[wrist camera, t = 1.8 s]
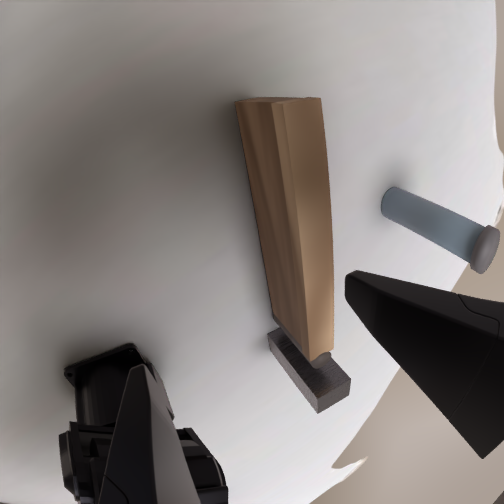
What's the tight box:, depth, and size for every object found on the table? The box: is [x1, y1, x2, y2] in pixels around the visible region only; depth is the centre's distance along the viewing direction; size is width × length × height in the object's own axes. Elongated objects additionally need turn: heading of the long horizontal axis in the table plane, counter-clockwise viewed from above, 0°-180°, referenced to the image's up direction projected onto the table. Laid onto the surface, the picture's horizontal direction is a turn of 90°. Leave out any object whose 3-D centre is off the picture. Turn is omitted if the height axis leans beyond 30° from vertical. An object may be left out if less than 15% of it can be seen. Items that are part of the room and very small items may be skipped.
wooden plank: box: [235, 97, 334, 369], centre depth 19 cm, size 2×18×6 cm, turn 11°
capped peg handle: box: [381, 187, 500, 274], centre depth 22 cm, size 4×4×11 cm
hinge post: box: [267, 328, 351, 414], centre depth 25 cm, size 3×2×8 cm
